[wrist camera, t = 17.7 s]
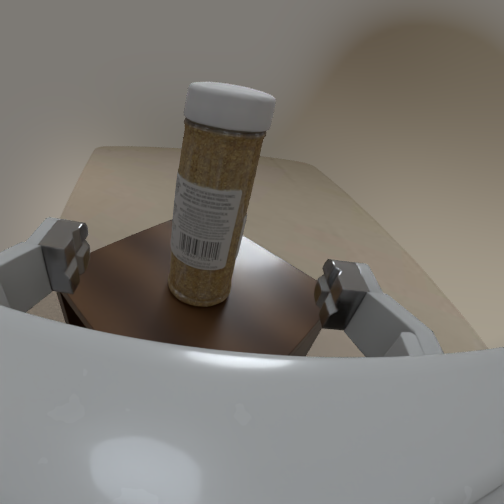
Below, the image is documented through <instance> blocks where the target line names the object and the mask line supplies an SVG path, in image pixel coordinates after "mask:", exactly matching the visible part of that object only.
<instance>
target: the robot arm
mask: <svg viewBox="0 0 504 504" xmlns="http://www.w3.org/2000/svg"><path fill="white" fill-rule="evenodd" d="M87 236H88V227H87V225H86V224H85V223H82V222H76V221H70V220H64V219H58V218H51V217H49V218H46V219H45V220H44V221H43V222H42V223H41V225H40V226H39V227H38V228H37V229H36V230H35V232H34V233H33V234H32V235H31V236H30V238H29V239H28V240H27V241H26V242H21V243H19V244H16V245H14V246H12V247H10V248H8V249H6V250H4V251H2V252H0V504H504V347H500V348H493V349H485V350H477V351H468V352H459V353H448V354H444V353H443V351H442V349H441V347H440V345H439V343H438V341H437V339H436V337H435V335H434V333H433V331H432V330H430V329H429V328H428V327H427V326H426V325H424V324H423V323H422V322H421V321H420V320H418V319H417V318H416V317H415V316H413V315H412V314H411V313H410V312H409V311H407V310H406V309H405V308H404V307H402V306H401V305H400V304H399V303H397V302H396V301H395V300H394V299H392V298H391V297H390V296H389V295H387V294H383V292H382V290H381V288H380V286H379V284H378V282H377V280H376V278H375V276H374V275H373V273H372V271H371V269H370V267H369V266H368V265H367V264H364V263H355V262H354V263H353V262H346V261H338V260H331V259H328V260H327V261H326V262H325V264H324V266H323V268H322V269H323V272H324V275H322V276H321V277H319V278H318V280H317V282H316V285H315V290H314V300H315V304H316V305H317V306H318V307H319V308H320V311H319V313H318V315H319V318H320V322H321V326H322V328H324V329H335V330H344V332H345V333H346V334H347V335H348V337H349V338H350V339H351V340H352V341H353V343H354V344H355V345H356V346H357V347H358V348H359V350H360V351H361V352H362V353H363V354H364V355H365V357H306V356H285V355H270V354H257V353H245V352H234V351H224V350H215V349H206V348H198V347H190V346H183V345H175V344H169V343H162V342H156V341H150V340H144V339H138V338H132V337H127V336H121V335H116V334H111V333H106V332H101V331H97V330H92V329H87V328H83V327H79V326H74V325H70V324H66V323H62V322H58V321H54V320H50V319H46V318H43V317H39V316H35V315H32V314H28V313H26V312H27V311H28V310H29V309H31V308H32V307H33V306H35V305H36V304H37V303H38V302H40V301H41V300H42V299H43V298H45V297H46V296H47V295H49V294H50V293H51V292H52V291H57V292H62V293H67V294H74V292H75V290H76V289H77V287H78V285H79V283H80V275H81V274H83V273H85V271H86V269H87V267H88V264H89V260H90V246H89V244H88V243H87V241H86V240H85V239H86V237H87Z"/></svg>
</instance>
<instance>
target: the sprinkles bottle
mask: <svg viewBox="0 0 504 504" xmlns="http://www.w3.org/2000/svg"><path fill="white" fill-rule="evenodd" d="M275 103H276V99H275V98H274V97H273V96H272V95H270V94H267V93H265V92H262V91H259V90H255V89H252V88H247V87H242V86H238V85H231V84H225V83H216V82H194V83H192V84H190V86H189V88H188V93H187V97H186V102H185V108H184V116H185V117H186V118H185V120H184V124H185V131H184V137H183V143H182V150H181V158H180V165H179V169H178V173H177V181H176V191H175V200H174V211H173V221H172V234H171V262H170V273H169V275H168V286H169V289H170V291H171V292H172V294H173V295H174V296H175V297H176V298H177V299H179V300H180V301H182V302H184V303H187V304H190V305H194V306H200V307H208V306H213V305H216V304H219V303H221V302H223V301H224V300H225V299H226V298H227V297H228V295H229V293H230V290H231V286H232V283H231V279H232V275H233V271H234V266H235V261H236V258H237V256H238V253H239V249H240V245H241V241H242V236H243V232H244V227H245V223H246V218H247V208H248V205H249V200H250V196H251V192H252V187H253V183H254V178H255V175H256V170H257V165H258V160H259V157H260V152H261V147H262V142H263V139H264V137H265V136H266V131H267V130H269V129H270V126H271V122H272V118H273V113H274V108H275Z"/></svg>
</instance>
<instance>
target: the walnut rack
mask: <svg viewBox="0 0 504 504" xmlns="http://www.w3.org/2000/svg"><path fill="white" fill-rule="evenodd" d="M172 221H173V219H172V220H169V221H167V222H164V223H161V224H159V225H156V226H154V227H151V228H149V229H146V230H144V231H141V232H139V233H136V234H134V235H131V236H129V237H126V238H124V239H121V240H119V241H117V242H114V243H112V244H109V245H107V246H105V247H102V248H100V249H98V250H95V251H93V252H91V253H90V260H89V264H88V267H87V269H86V271H85V273H83V274H81V275H80V283H79V285H78V287H77V289H76V290H75V292H74V294H67V293H62V292H57V291H56V292H57V295H58V299H59V302H60V306H61V309H62V312H63V316H64V319H65V322H66V324H70V325H74V326H79V327H83V328H87V329H92V330H97V331H101V332H106V333H111V334H116V335H121V336H127V337H132V338H138V339H144V340H150V341H156V342H162V343H169V344H175V345H183V346H190V347H198V348H206V349H215V350H224V351H234V352H245V353H257V354H270V355H285V356H306V355H307V353H308V351H309V350H310V348H311V346H312V344H313V343H314V341H315V339H316V338H317V336H318V334H319V332H320V330H321V329H322V326H321V322H320V318H319V315H318V313H319V311H320V308H319V307H318V306H317V305H316V304H315V300H314V290H315V285H316V282H317V280H315V279H313V278H312V277H310V276H308V275H307V274H305V273H304V272H302V271H300V270H299V269H297V268H295V267H294V266H292V265H290V264H289V263H287V262H286V261H284V260H282V259H281V258H279V257H277V256H276V255H274V254H272V253H271V252H269V251H267V250H266V249H264V248H263V247H261V246H259V245H258V244H256V243H254V242H253V241H251V240H249V239H248V238H246V237H244V236H242V241H241V245H240V249H239V253H238V256H237V258H236V261H235V266H234V271H233V275H232V279H231V283H232V286H231V290H230V293H229V295H228V297H227V298H226V299H225V300H224V301H223V302H221V303H219V304H216V305H213V306H208V307H200V306H194V305H190V304H187V303H184V302H182V301H180V300H179V299H177V298H176V297H175V296H174V295H173V294H172V292H171V291H170V289H169V286H168V275H169V273H170V262H171V234H172Z"/></svg>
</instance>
